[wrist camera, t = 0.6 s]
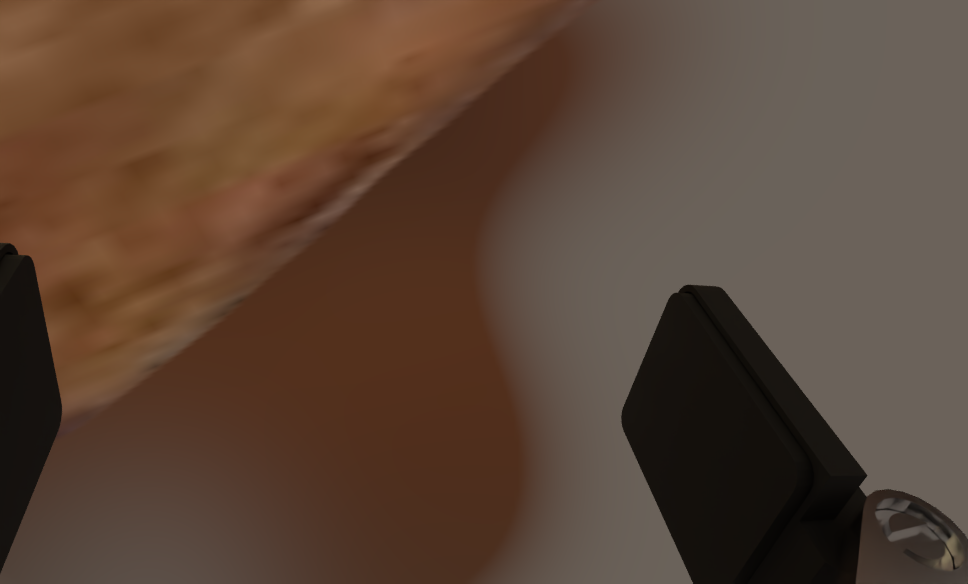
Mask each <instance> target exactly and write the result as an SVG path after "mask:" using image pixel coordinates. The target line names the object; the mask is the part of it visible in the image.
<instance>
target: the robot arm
mask: <svg viewBox="0 0 968 584" xmlns="http://www.w3.org/2000/svg"><path fill="white" fill-rule="evenodd" d="M61 415H62V404H61V398H60V393H59V388H58V383H57V378H56V373H55V368H54V363H53V358H52V352H51V347H50V342H49V337H48V332H47V327H46V322H45V317H44V312H43V307H42V302H41V297H40V292H39V287H38V282H37V277H36V272H35V267H34V263H33V260H32V259H31V257H29V256H27V255H18V252H17V250H16V248H15V247H14V245H12V244H10V243H0V573H1V570H2V568H3V565H4V563H5V560H6V558H7V556H8V553H9V551H10V548H11V546H12V543H13V541H14V538H15V536H16V533H17V531H18V529H19V526H20V524H21V521H22V519H23V516H24V514H25V511H26V509H27V506H28V504H29V501H30V499H31V496H32V494H33V492H34V489H35V487H36V484H37V482H38V479H39V477H40V474H41V472H42V469H43V467H44V464H45V462H46V459H47V457H48V455H49V452H50V450H51V447H52V445H53V442H54V440H55V437H56V435H57V432H58V430H59V427H60V422H61ZM621 418H622V427H623V430H624V432H625V435H626V436H627V439H628V441H629V443H630V445H631V448H632V450H633V452H634V455H635V456H636V459H637V461H638V463H639V465H640V468H641V470H642V472H643V474H644V477H645V478H646V481H647V483H648V485H649V487H650V489H651V492H652V494H653V496H654V498H655V501H656V502H657V505H658V507H659V509H660V512H661V514H662V516H663V518H664V520H665V522H666V525H667V527H668V529H669V531H670V533H671V536H672V538H673V540H674V542H675V544H676V547H677V549H678V551H679V553H680V555H681V557H682V560H683V562H684V564H685V566H686V569H687V571H688V573H689V575H690V577H691V580H692V582H693V584H968V539H967V537H966V536H965V534H964V533H963V532H962V531H961V530H960V528H958V526H957V525H956V524H955V523H954V522H953V521H952V520H951V519H950V518H948V517H947V516H946V515H945V514H943V513H942V512H941V511H940V510H938V509H937V508H936V507H934V506H932V505H931V504H929V503H927V502H925V501H924V500H922V499H920V498H918V497H916V496H913V495H910V494H908V493H905V492H902V491H896V490H891V489H884V490H876V491H874V492H873V493H871V494H870V495H868V496H867V497H866V496H865V494H864V493H863V492H862V490H861V489H860V488H859V486H860V485H861V483H862V482H863V481H864V479H865V478H866V477H867V474H866V473H865V472H864V470H863V469H862V468H861V466H860V465H859V464H858V463H857V461H856V460H855V459H854V458H853V456H852V455H851V454H850V452H849V451H848V450H847V448H846V447H845V446H844V445H843V443H842V442H841V441H840V440H839V438H838V437H837V435H836V434H835V433H834V432H833V430H832V429H831V428H830V426H829V425H828V424H827V423H826V421H825V420H824V419H823V417H822V416H821V415H820V414H819V412H818V411H817V410H816V408H815V407H814V406H813V405H812V403H811V402H810V401H809V400H808V398H807V397H806V396H805V394H804V393H803V392H802V390H801V389H800V388H799V386H798V385H797V384H796V383H795V381H794V380H793V379H792V378H791V376H790V375H789V374H788V372H787V371H786V370H785V368H784V367H783V366H782V364H781V363H780V362H779V361H778V359H777V358H776V357H775V355H774V354H773V353H772V352H771V350H770V349H769V348H768V346H767V345H766V344H765V343H764V341H763V340H762V339H761V337H760V336H759V335H758V333H757V332H756V331H755V330H754V328H752V326H751V324H750V323H749V322H748V321H747V319H746V318H745V317H744V315H743V314H742V313H741V312H740V310H739V309H738V308H737V306H736V305H735V304H734V303H733V301H732V300H731V299H730V297H729V296H728V295H727V294H726V292H725V291H724V290H723V289H722V288H720V287H716V286H699V285H686V286H683V287H682V288H681V289H680V290H679V292H678V293H674V294H672V295H671V297H670V298H669V300H668V302H667V304H666V307H665V309H664V311H663V314H662V316H661V319H660V321H659V324H658V326H657V328H656V331H655V333H654V335H653V338H652V340H651V342H650V345H649V347H648V350H647V352H646V354H645V357H644V359H643V361H642V364H641V366H640V369H639V371H638V373H637V376H636V378H635V381H634V383H633V385H632V388H631V390H630V392H629V395H628V397H627V400H626V402H625V404H624V407H623V410H622V416H621Z"/></svg>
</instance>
